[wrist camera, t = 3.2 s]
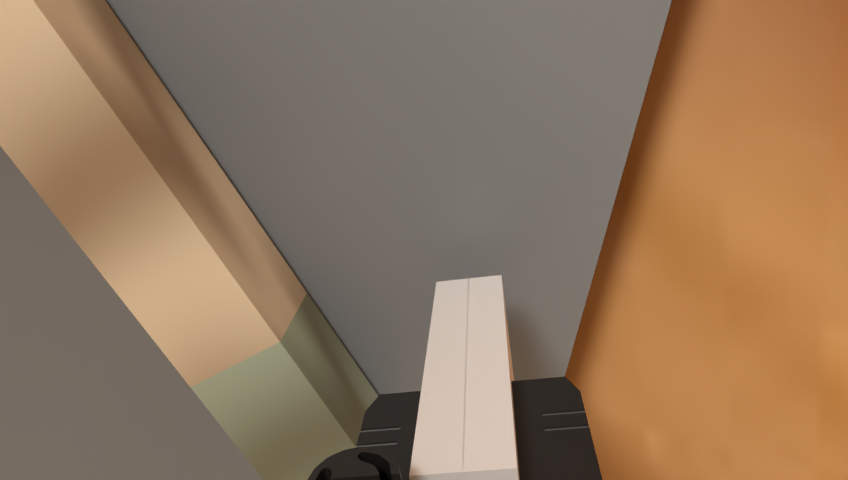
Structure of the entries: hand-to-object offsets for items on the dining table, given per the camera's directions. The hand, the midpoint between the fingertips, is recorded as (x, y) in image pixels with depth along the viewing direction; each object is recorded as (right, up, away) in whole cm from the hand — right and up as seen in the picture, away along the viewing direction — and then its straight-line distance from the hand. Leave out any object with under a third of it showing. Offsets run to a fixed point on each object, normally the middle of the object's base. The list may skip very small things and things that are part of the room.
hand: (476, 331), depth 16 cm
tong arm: (-7, +3, +1) cm, 8 cm away
